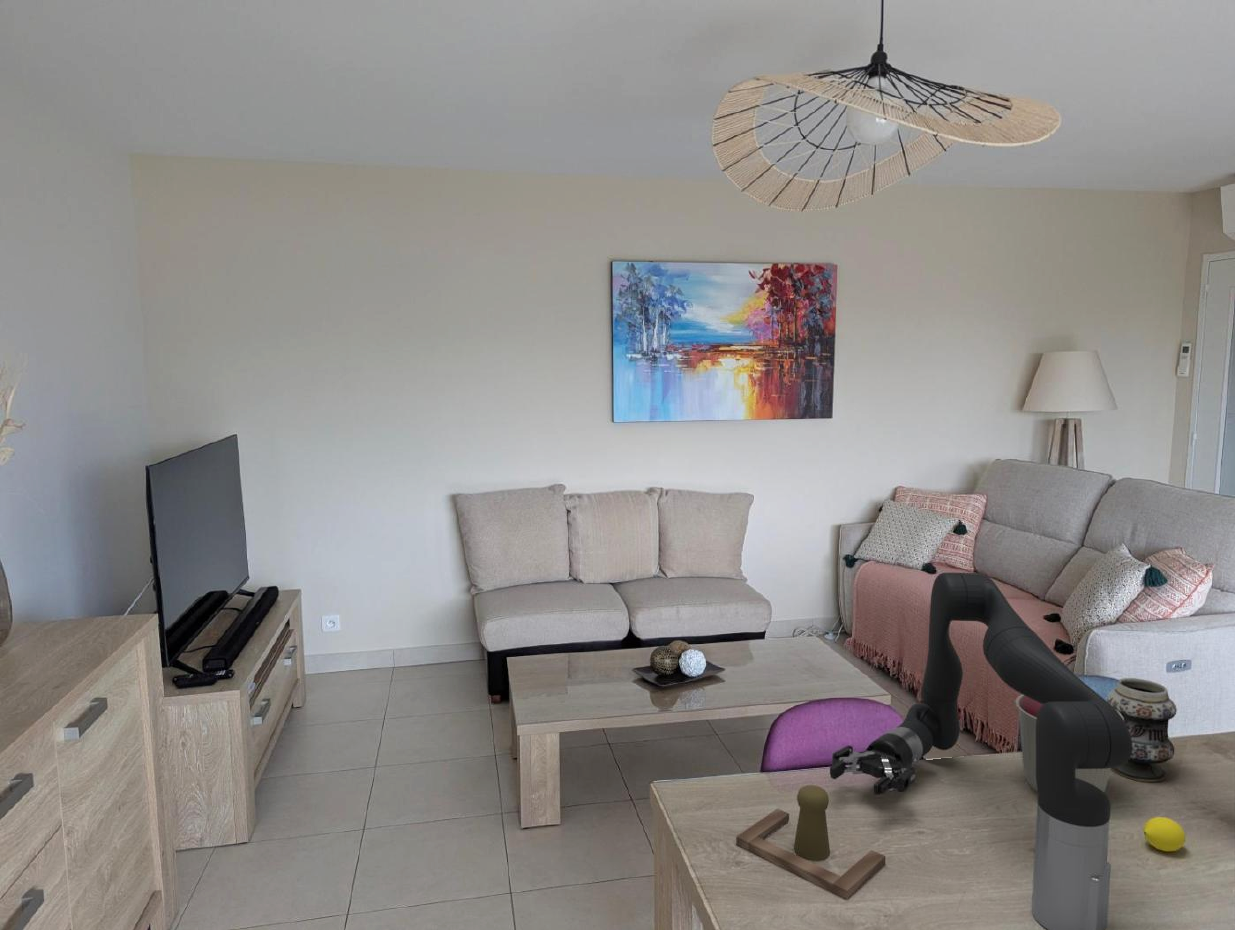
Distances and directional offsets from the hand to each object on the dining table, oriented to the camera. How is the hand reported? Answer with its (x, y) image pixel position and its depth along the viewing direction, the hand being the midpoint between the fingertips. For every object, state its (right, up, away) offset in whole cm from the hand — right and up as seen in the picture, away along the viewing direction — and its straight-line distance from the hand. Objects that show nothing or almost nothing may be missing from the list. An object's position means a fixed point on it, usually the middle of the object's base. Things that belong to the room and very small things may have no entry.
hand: (853, 782), depth 146 cm
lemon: (+50, -8, -8) cm, 51 cm away
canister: (+44, -6, +11) cm, 45 cm away
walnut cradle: (-10, -9, -9) cm, 16 cm away
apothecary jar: (+63, -5, +19) cm, 66 cm away
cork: (-9, -9, -8) cm, 15 cm away
